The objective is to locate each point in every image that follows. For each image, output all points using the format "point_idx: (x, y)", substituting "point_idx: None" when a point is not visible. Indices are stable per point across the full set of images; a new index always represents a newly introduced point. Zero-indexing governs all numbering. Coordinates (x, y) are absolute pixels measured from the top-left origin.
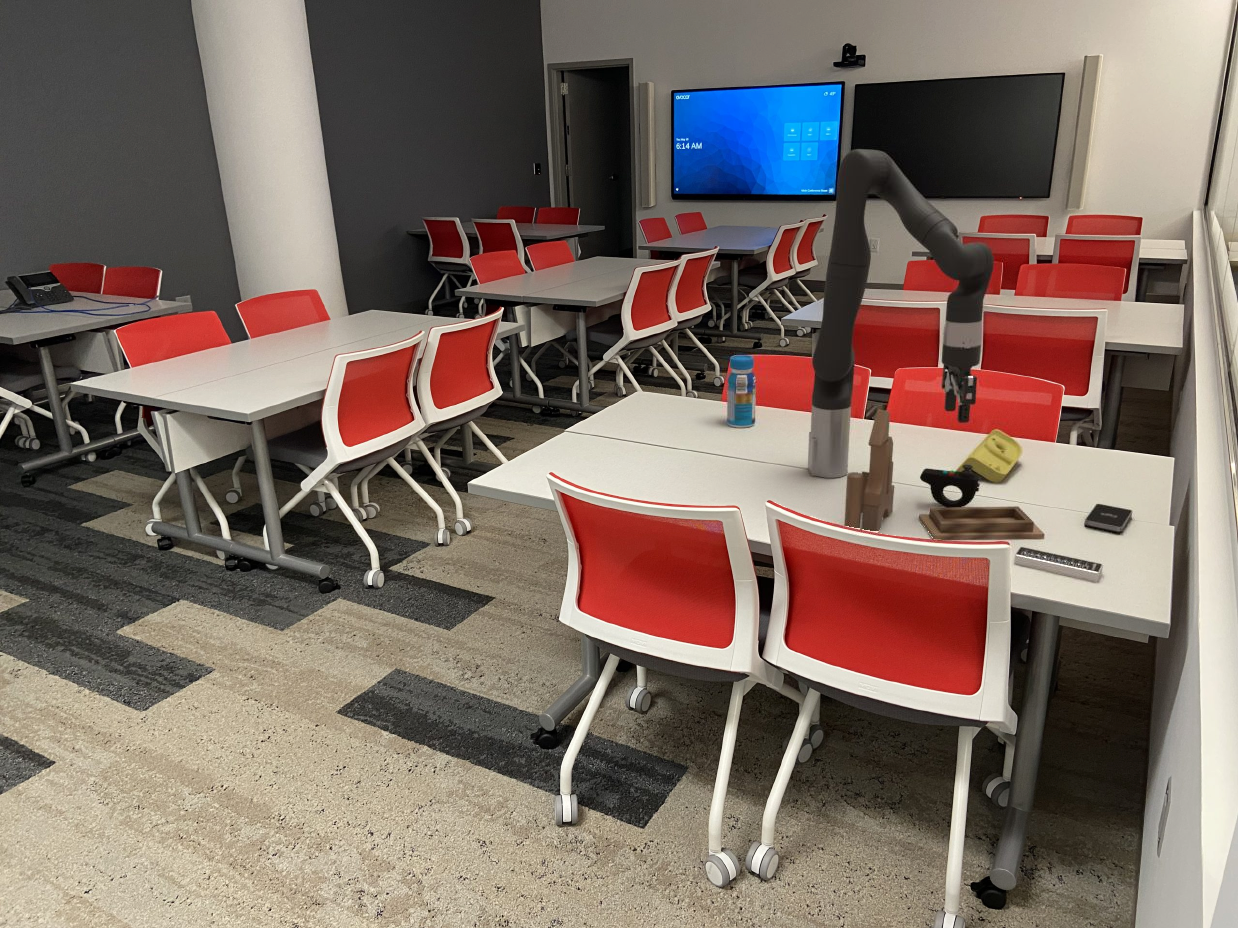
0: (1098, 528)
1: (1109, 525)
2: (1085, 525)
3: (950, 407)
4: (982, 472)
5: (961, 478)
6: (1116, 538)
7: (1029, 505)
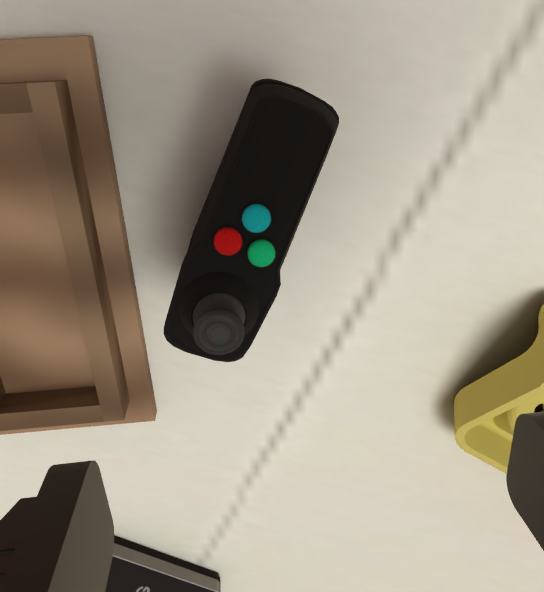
0: None
1: None
2: None
3: (535, 480)
4: (488, 382)
5: (179, 278)
6: None
7: (255, 445)
